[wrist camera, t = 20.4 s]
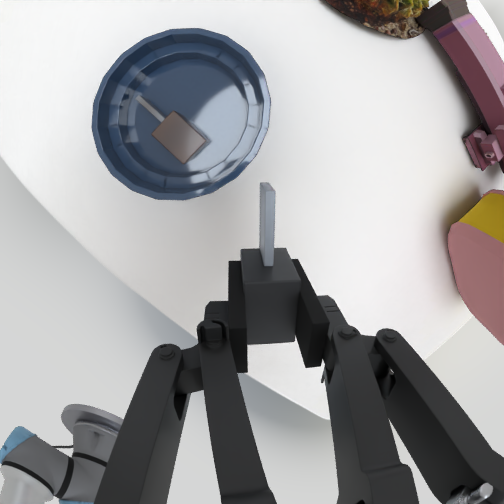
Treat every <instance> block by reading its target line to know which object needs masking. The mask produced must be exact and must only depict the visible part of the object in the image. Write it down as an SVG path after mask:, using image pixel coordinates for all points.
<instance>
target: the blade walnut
mask: <svg viewBox="0 0 504 504" xmlns="http://www.w3.org/2000/svg"><path fill="white" fill-rule="evenodd" d="M136 100H137V101H138V102H139V103H140V104H141V105H143V106H144V107H145V108H146V109H147V110H148V111H149V112H150V113H151V114H153V115H154V116H155V117H156V118H157V119H158V120H159V121H160V122H161V124H160V125H159V126H158V127H157V128H156V129H155V130H154V131H153V132H152V134H151V135H152V136H153V137H154V138H155V139H156V140H158V141H159V142H160V143H161V144H162V145H163V146H164V147H165V148H166V149H167V150H168V151H169V152H170V153H172V154H173V155H174V156H175V157H176V158H177V159H178V160H179V161H180V162H181V163H182V164H185V163H187V162H189V161H191V160H192V159H193V158H194V157H195V156H196V155H197V154H198V153H199V152H200V151H201V150H202V149H203V148H204V147H205V146H206V145H207V144H208V143H209V142H210V140H209V139H208V138H207V137H206V136H205V135H204V134H203V133H202V132H201V131H200V130H199V129H197V128H196V127H195V126H194V125H193V124H192V123H191V122H190V121H189V120H188V119H187V118H186V117H184V116H183V115H182V114H180V113H178V112H176V111H174V110H173V111H172V112H171V113H170V114H169V115H168V116H166V115H165V114H164V113H162V112H161V111H160V110H159V109H158V108H157V107H156V106H155V105H154V104H152V103H151V102H150V101H149V100H148V99H147V98H144V97H142V96H140V95H138V96H137V97H136Z"/></svg>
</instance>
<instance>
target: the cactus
mask: <svg viewBox="0 0 504 504" xmlns="http://www.w3.org/2000/svg"><path fill="white" fill-rule="evenodd" d="M326 1H327V2H328V3H329V4H331V5H332V6H333V7H334V8H336V9H337V10H339V11H340V12H342V13H344V14H345V15H346V16H349V17H350V18H353V19H356V20H358V21H360V22H361V23H362V24H363V25H365V26H368V27H370V28H373V29H375V30H378V31H380V32H383V33H385V34H389V35H393V36H395V37H401V38H403V39H408V38H412V37H416V36H418V35H420V34H421V33H422V32H423V31H424V30H425V29H426V27H423V26H422V25H420V24H419V23H418V22H417V21H416V20H415V19H416V18H417V17H418V16H420V15H421V14H423V13H424V12H425V11H427V10H428V8H427V7H429V3H428V1H429V0H326Z"/></svg>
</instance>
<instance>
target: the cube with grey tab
mask: <svg viewBox="0 0 504 504" xmlns="http://www.w3.org/2000/svg"><path fill="white" fill-rule="evenodd" d="M274 230H275V190H274V189H273V188H272V186H271V185H270V184H269V183H260V246H259V247H260V248H259V249H241V250H240V251H241V269H242V282H243V293H244V300H245V312H246V323H247V345H254V344H272V343H286V342H294V341H295V331H296V322H297V312H298V303H299V293H300V287H301V279H300V277H299V275H298V273H297V271H296V269H295V266H294V264H293V262H292V260H291V258H290V256H289V254H288V252H287V249H286V248H274Z"/></svg>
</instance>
